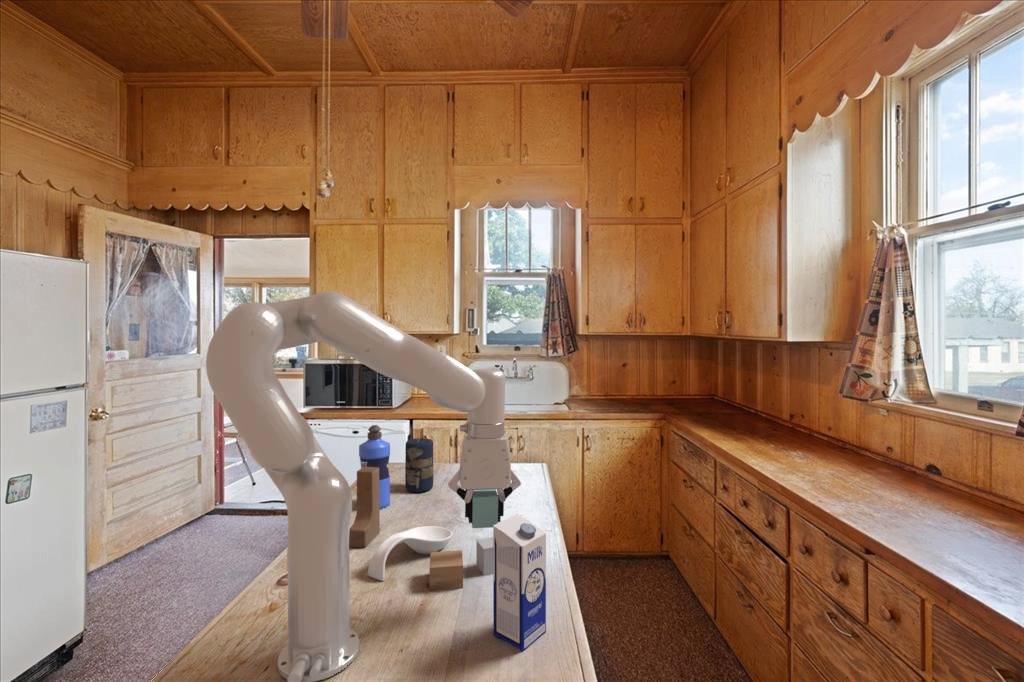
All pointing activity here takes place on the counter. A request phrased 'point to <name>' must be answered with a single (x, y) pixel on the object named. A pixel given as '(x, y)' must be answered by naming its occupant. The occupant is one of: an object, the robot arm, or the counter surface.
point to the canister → (419, 465)
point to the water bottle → (377, 461)
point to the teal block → (484, 508)
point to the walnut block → (446, 570)
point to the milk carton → (519, 581)
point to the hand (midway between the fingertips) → (484, 519)
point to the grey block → (484, 555)
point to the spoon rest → (416, 538)
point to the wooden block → (366, 508)
